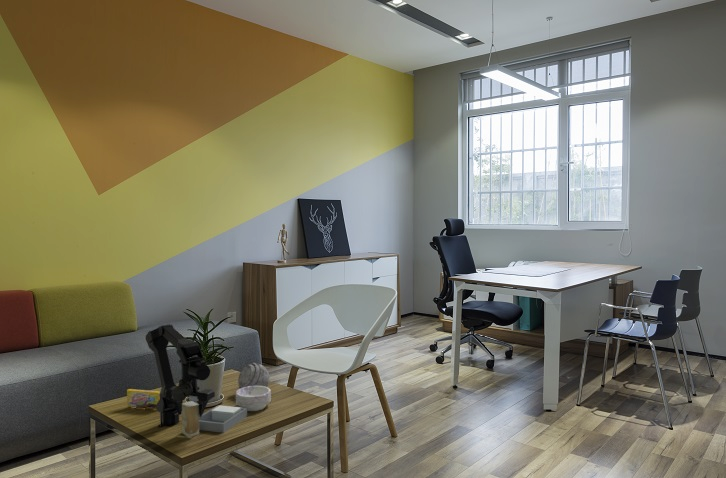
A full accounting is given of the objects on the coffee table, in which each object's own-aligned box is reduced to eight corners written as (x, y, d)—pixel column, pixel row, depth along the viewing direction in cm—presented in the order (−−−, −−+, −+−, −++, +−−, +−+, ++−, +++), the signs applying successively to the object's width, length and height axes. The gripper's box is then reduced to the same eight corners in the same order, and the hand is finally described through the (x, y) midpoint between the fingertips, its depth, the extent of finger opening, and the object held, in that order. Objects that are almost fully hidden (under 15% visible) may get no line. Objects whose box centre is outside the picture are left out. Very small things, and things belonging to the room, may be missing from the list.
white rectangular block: (211, 420, 217) (211, 410, 217) (220, 414, 223) (219, 405, 223) (233, 422, 214) (233, 412, 214) (241, 417, 220) (241, 407, 220)
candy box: (126, 408, 235) (126, 390, 235) (130, 407, 237) (129, 388, 237) (158, 411, 231) (158, 392, 231) (161, 409, 233) (161, 390, 233)
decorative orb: (233, 393, 253) (232, 362, 253) (261, 387, 262) (260, 357, 261) (246, 401, 241) (246, 369, 241) (275, 395, 250) (274, 363, 250)
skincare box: (181, 434, 204) (180, 403, 204) (192, 431, 208) (191, 400, 207) (189, 439, 200) (188, 406, 200) (200, 435, 203) (199, 404, 203)
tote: (192, 430, 208) (192, 420, 208) (217, 414, 225) (217, 405, 225) (223, 434, 204) (223, 423, 204) (247, 417, 221) (247, 408, 221)
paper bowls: (263, 415, 224) (262, 396, 223) (229, 413, 227) (229, 395, 226) (276, 403, 239) (275, 386, 238) (244, 401, 242) (244, 384, 241)
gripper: (154, 379, 198) (156, 420, 199) (198, 383, 193) (198, 425, 193) (173, 371, 209) (174, 410, 209) (215, 374, 203) (215, 415, 204)
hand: (190, 415), depth 204 cm, fingers open, 9 cm apart
